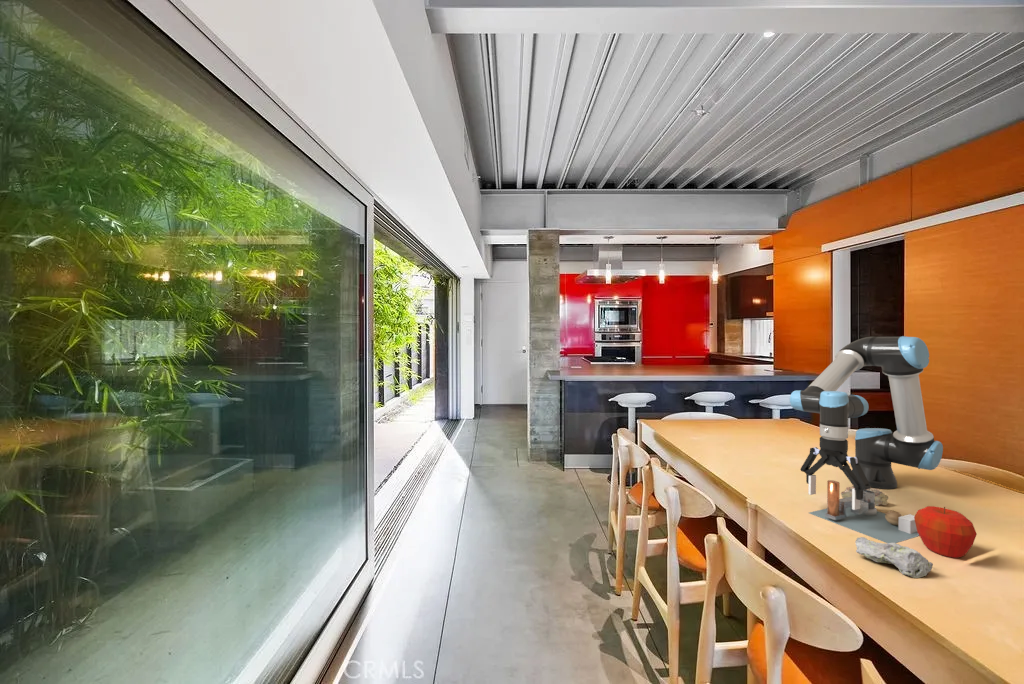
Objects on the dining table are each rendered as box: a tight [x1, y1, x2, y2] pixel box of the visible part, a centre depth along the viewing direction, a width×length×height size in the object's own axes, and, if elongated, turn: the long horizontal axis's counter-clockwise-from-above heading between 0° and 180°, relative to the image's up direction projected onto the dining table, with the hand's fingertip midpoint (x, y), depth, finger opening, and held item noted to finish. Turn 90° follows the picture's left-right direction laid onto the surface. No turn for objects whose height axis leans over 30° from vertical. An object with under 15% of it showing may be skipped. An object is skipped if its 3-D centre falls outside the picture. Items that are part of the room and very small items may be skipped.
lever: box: [825, 479, 876, 520], centre depth 142 cm, size 21×6×12 cm, turn 111°
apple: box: [914, 505, 978, 559], centre depth 119 cm, size 12×12×14 cm
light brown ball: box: [885, 510, 903, 525], centre depth 136 cm, size 4×4×4 cm
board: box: [808, 507, 920, 544], centre depth 139 cm, size 24×24×5 cm
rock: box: [840, 485, 889, 507], centre depth 155 cm, size 7×11×10 cm
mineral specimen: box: [854, 536, 934, 579], centre depth 113 cm, size 16×7×7 cm, turn 42°
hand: (833, 501), depth 140 cm, fingers open, 13 cm apart
